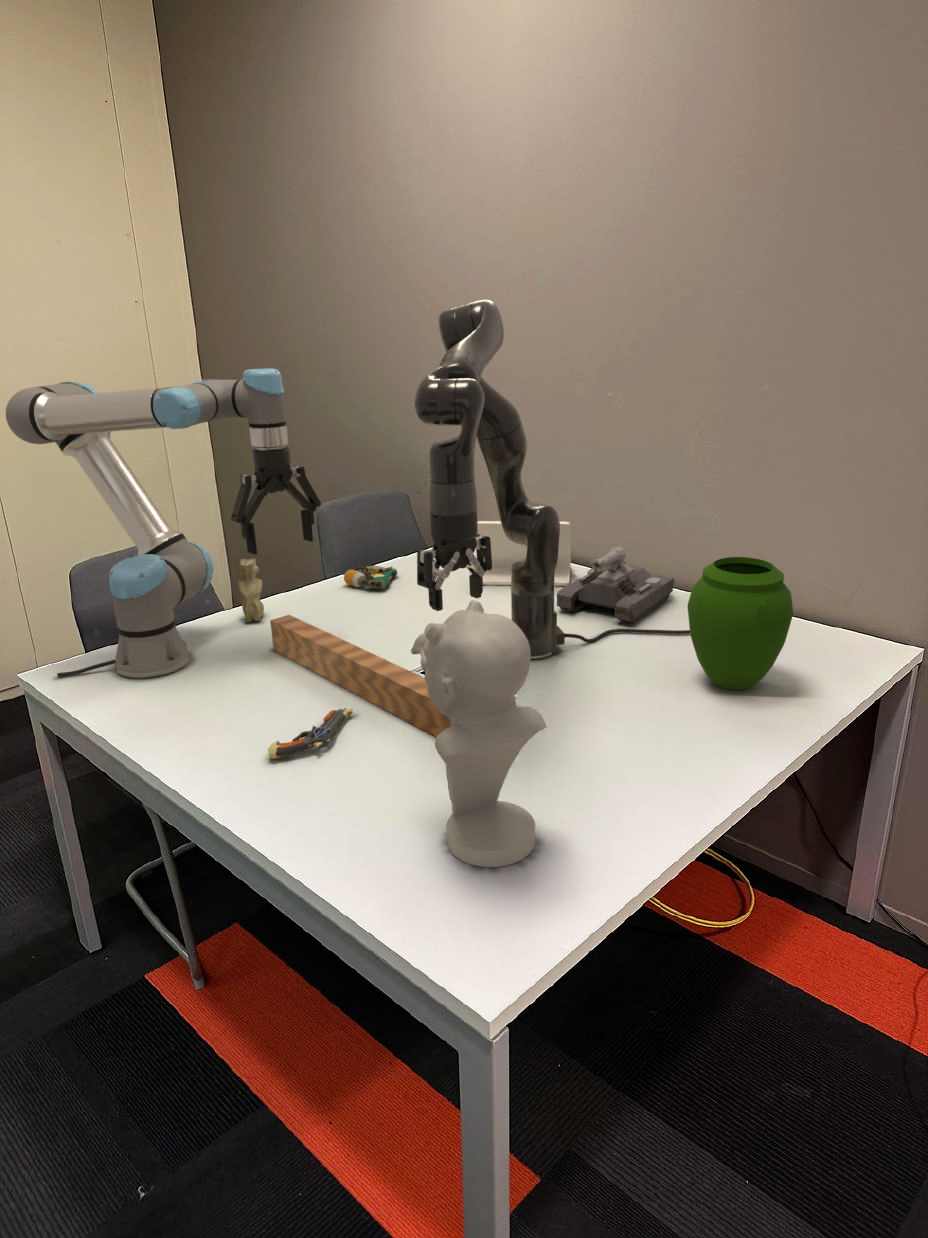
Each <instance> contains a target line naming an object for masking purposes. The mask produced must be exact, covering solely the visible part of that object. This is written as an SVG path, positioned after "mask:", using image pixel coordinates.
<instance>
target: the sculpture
mask: <svg viewBox="0 0 928 1238" xmlns="http://www.w3.org/2000/svg"><path fill="white" fill-rule="evenodd" d="M239 565H240V566H239V567H238V568H237V572H238V574H240V575H241V576H242V579H240V580H238V582H237V585H238V591H239V596H241V597H242V603H241V608H242V612H243V614H244V619H245V622H246V623H247V622H252V621H253V620H254V622H258V621H260V620H261V617H262V616H263V615H264V613H265V606H264V604H263V601H261V593H262V590H263V580H262V579H260V578H257V577H256V576H257V575H258V574H259V572H260V568H259V566H257V563H256V558H250V559H245V558H241V559H240V561H239Z"/></svg>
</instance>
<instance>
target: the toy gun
mask: <svg viewBox="0 0 928 1238" xmlns="http://www.w3.org/2000/svg"><path fill="white" fill-rule="evenodd" d="M353 713H354V712H353V708H346V707H344V708H343V709H342V708H339V709H332V710H330V711H329V712H328V713H327V714H326V715H325V716H324V718H323V723H322V724H321V725H319V726H316V725H312V729H310V730H305V731H301V732H300V733H299V734H298V735H297V736H296V737H294V738H292V741H288V742H280V741H279V740H275V741H274V742H273V743H271V744H270V745H269V746H268V749H267V751H268V756H269V759H271V760H274V759H278V758H283V757H285V756H290V755H293V754H297V753H300V752H304V751H307V750H309V749H312V748H319V747H321V746H323V745H324V744H325V743H328V742H329V741H331V739H332V738H333V737H334V736H335V734H336V732H337V730H338V728H339V727H341V725H342V723H343V722H344V721H345V720H346V719H347V718H348V717H349V716H352V715H353Z"/></svg>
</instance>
